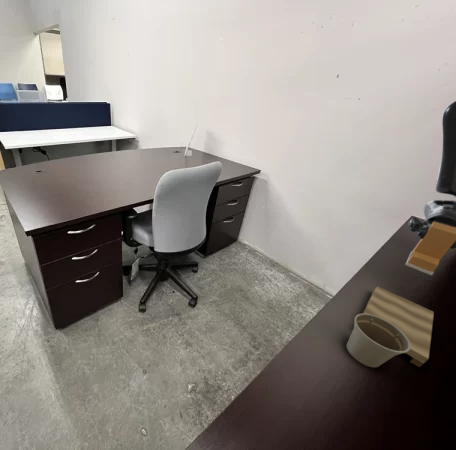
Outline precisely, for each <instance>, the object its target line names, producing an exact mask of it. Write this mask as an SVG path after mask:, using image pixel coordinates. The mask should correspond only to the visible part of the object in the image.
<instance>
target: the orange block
mask: <svg viewBox="0 0 456 450" xmlns="http://www.w3.org/2000/svg"><path fill="white" fill-rule="evenodd" d="M455 241H456V228H455V227H451V226H448V225H444V224H441V223H437V222H433V223H432V224H431V226H430V227H429V230H428V232H427V234H426V235H425V237H424V238H423V239H421V238H420V240H419V241H418V242H417V244H416V245H415V246H414V248H413V250H411V251H410V253H409V255H408V257H407V260H406V262H405V264H404V265H405V266H407V267H409V268H412V269H415V270H417V271H418V272H419V271H420V272H422V273H424V274H427V275H430V276H433V274H434V273H435V270H436V269H437V268H438V267H439V264H440V261H441V259H442V258H443V257H444V256H445V255H446V253H448V251H449V250H450V249H451V248H450V247H451V246H452V245H453V243H454V242H455Z"/></svg>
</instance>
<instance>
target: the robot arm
mask: <svg viewBox="0 0 456 450" xmlns="http://www.w3.org/2000/svg"><path fill="white" fill-rule="evenodd" d="M441 129H442V145H441V147H442V148H441V157H440V164H439V169H438V174H437V179H436V184H435V192H436V193H439V194H442V195H443V194H445V195H450V196H453V197H455V198H456V100H454V101H453V102H451V103H450V104H449V105H448V106H447V107H446V108H445V109H444V111H443V113H442V115H441ZM423 214H424V217H425V219H424V220H423V221H421V220H420V219H419V218H418V217H415V216H412V218H411V219H410V220H409V222H408V223H407V226H408V229H409V231H411V232H414V233H415V232H417V236H418V237H419V239H420V240H421V239H423V238H424V237H425V235H426V234H427V232H428V230H429V227H430V226H431V224H432V223H433V222H437V223H441V224H444V225H448V226H451V227H455V228H456V200H446V199H445V200H443V199H433V200H430V201H427V203H426V204H425V205H424V208H423ZM449 249H451V250H454V249H456V241H455V242H454V243H453V245H452V246H451V247H450V248H449Z"/></svg>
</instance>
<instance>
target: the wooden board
mask: <svg viewBox="0 0 456 450" xmlns="http://www.w3.org/2000/svg"><path fill="white" fill-rule="evenodd" d="M364 313H366V314H371V315H375V316H378V317H380V318H382V319H384V320H386V321H388V322H390V323H391V324H393V325H394V326H396V327H397V328H398V329H399V330H401V331H402V332H403V333H404V334H405V335H406V337H407V338H408V340H409V341H410V344H411V349H410V350H409V351H408V352H406V353H405V354H406V355H408V356H410V359H409V362H410V363H411V364H413V365H414V366H416V367H418V368H421V367H422V366H423V365H424V364H425V363H426V362H427V361H428V360H429V358H430V351H431V341H432V333H433V325H434V324H433V323H434V316H435V315H434V314H435V311H433V310H431V309H428V308H426V307H425V306H422V305H420V304H418V303H415V302H413V301H411V300H409V299H407V298H404V297H402V296H400V295H398V294H397V293H393V292H391V291H389V290H387V289H384V288H383V287H380V286H376V287H375V289H374V290H373V291H372V293H371V295H370V297H369V299H368V302H367V303H366V305H365V308H364V310H363V312H362V314H364Z"/></svg>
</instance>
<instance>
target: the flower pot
mask: <svg viewBox="0 0 456 450" xmlns="http://www.w3.org/2000/svg"><path fill="white" fill-rule="evenodd" d="M353 321H354V322H353V329H352V331H351V334H350V336H349V338H348V341H347V343H346V350H347V351H348V353H349V354H350V356H352V357H353V358H354V359H355V360H356V361H357V362H359V363H360V364H362V365H364V366H366V367H370V368H379V367H380V366H382V365H383V364H384V363H386V362H387V361H389V360H390V359H392V358H394V357H395V356H398V355H399V356H400V355H401V354H406V352H408V351H409V350H410V349H411V344H410V341H409V340H408V338H407V337H406V335H405V334H404V333H403V332H402V331H401V330H399V329H398V328H397V327H396V326H394V325H393V324H391V323H390V322H388V321H386V320H384V319H382V318H380V317H378V316H375V315H371V314H366V313H364V314H363V313H358V314H356V315H355V316H354V320H353Z"/></svg>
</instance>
